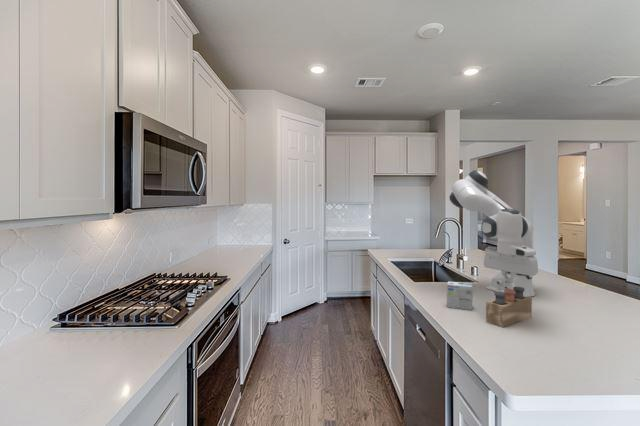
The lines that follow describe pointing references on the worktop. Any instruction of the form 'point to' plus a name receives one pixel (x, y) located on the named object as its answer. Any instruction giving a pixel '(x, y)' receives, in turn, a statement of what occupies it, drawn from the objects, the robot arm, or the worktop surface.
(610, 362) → the worktop surface
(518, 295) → the plug far
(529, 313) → the oak socket block
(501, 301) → the plug near
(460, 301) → the light bulb box
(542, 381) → the worktop surface
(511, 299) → the plug mid
